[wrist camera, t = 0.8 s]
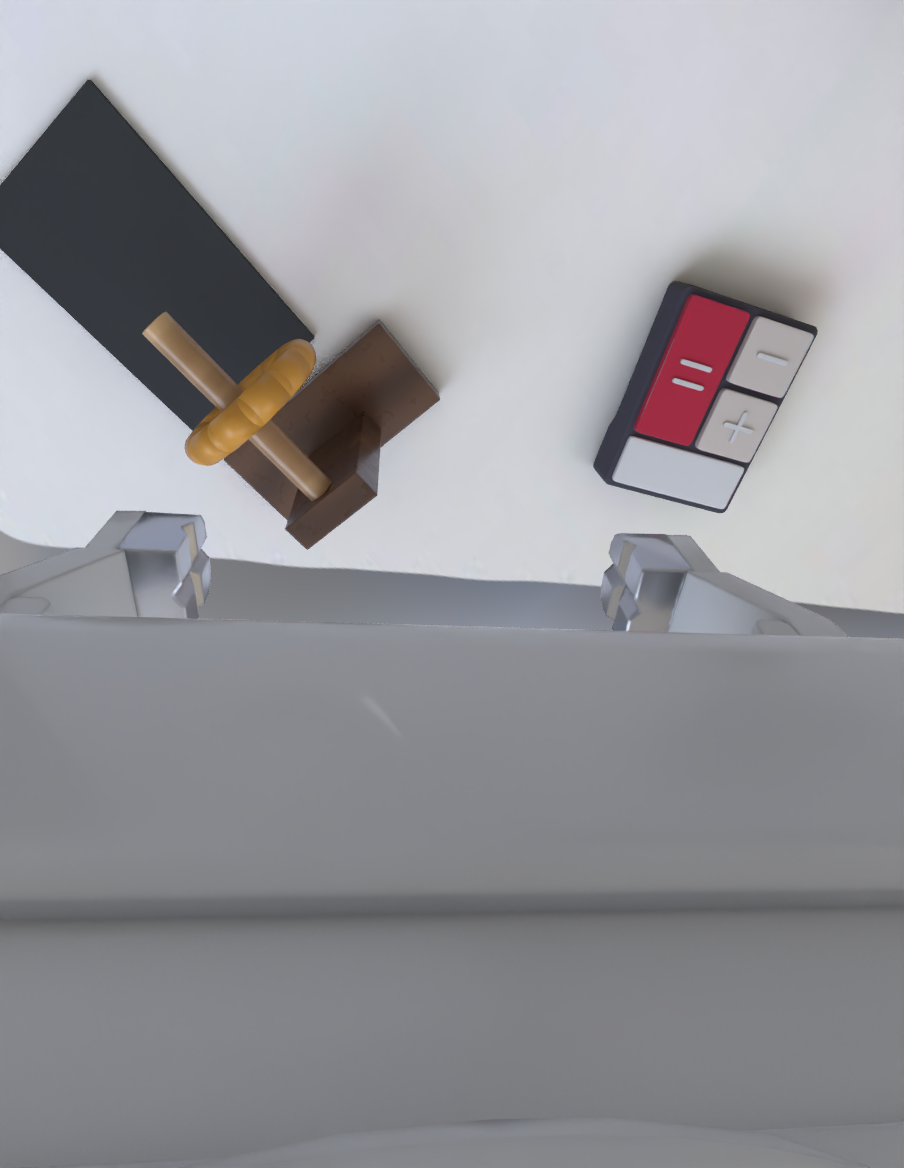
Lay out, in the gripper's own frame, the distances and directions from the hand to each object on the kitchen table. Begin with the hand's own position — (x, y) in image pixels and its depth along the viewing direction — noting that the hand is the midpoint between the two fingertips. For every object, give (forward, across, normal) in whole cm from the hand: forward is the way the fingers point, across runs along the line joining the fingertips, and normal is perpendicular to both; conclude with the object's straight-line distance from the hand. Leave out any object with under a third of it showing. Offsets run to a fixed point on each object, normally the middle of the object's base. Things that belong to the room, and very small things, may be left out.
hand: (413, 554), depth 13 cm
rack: (+40, +8, +7) cm, 41 cm away
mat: (+40, +17, +1) cm, 43 cm away
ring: (+30, +9, +6) cm, 32 cm away
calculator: (+40, -23, +7) cm, 47 cm away
